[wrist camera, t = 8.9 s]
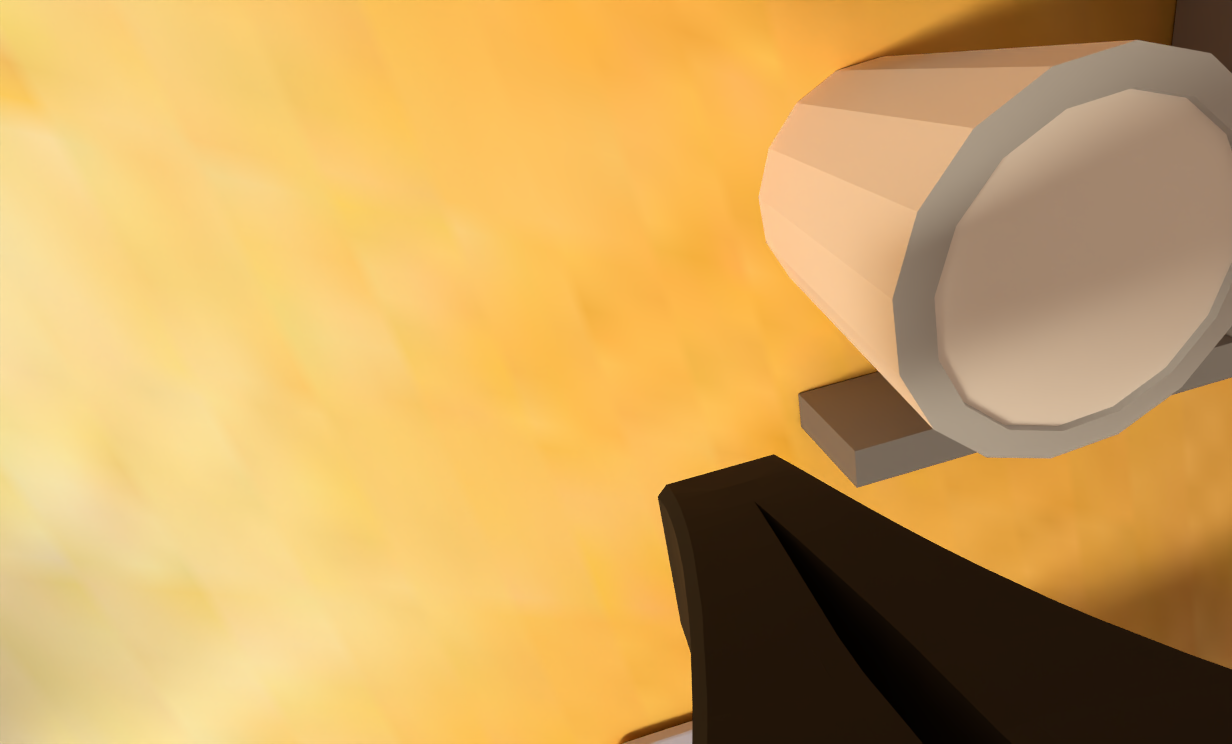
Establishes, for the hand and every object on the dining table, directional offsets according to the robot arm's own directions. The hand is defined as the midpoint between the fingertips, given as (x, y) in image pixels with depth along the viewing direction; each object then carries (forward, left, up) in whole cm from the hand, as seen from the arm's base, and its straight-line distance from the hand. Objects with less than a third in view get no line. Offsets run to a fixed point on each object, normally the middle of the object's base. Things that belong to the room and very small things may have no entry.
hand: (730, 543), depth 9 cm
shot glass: (0, -7, -11) cm, 13 cm away
